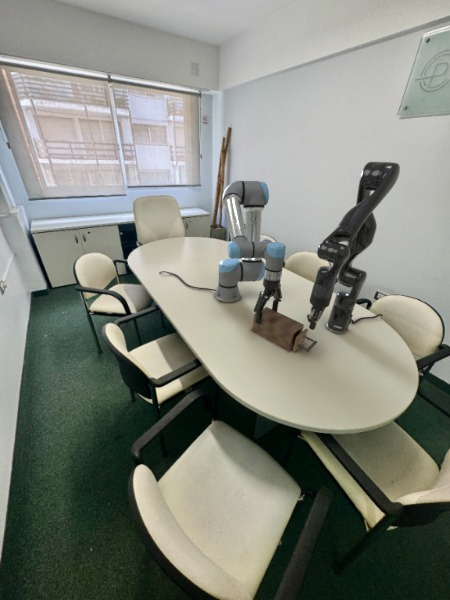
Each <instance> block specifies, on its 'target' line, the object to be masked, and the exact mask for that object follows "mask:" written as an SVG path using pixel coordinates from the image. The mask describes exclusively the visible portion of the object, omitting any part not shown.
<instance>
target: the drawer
mask: <svg viewBox="0 0 450 600" xmlns="http://www.w3.org/2000/svg"><path fill="white" fill-rule="evenodd" d="M301 331H302V328H301V329H300V330H299V331H298V332H296V333H295V334H294V335H293V339H292V343H291V347H292V346H293V345H294V347H293V348H292V352H294V353H296V352H297V351H298V350H299V349H300V348H301V349H302V350H304V351H305V352H306V353H309V352H310V351H311V350H312V349H313V348H314V346H316V344H318V341H317V340H314V339H312V338H310V337H309V336H308V332H309V328H307V327H306V328H303V331H302V332H301ZM306 339H307V340H308V341H311V342H312V343H311V344H310V345H309V346H308V347H307V348H306V347H304V346H303V345H304V344H305V343H306Z"/></svg>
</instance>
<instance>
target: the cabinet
mask: <svg viewBox="0 0 450 600" xmlns="http://www.w3.org/2000/svg"><path fill="white" fill-rule="evenodd" d="M262 312H263V313H262V320H261V324H258V323H256V322H255V321H256V313H255V314H253V319H252V320H253V321H252V328H251V331H252V332H254V333H256V334H258V335H259V336H261V337H263V338H264V339H266V340H268V341H270V342H271V343H273V344H275V345H277V346H279V347H280V348H282V349H284V350H286V351H288V352H290V351H291V350H293V348H294V345H293V346H292V347H291V343H292V339H293V335H294V334H295V333H296V332H298V331H299V330H300V329H301V328H302V331H303V330H304V327H305V324H304V323H302V322H299V321H297V320H295V319H293V318H292V317H289V316H288V315H285V314H282V313H281V312H278V311H277V312H276V311H274V310H272V308H271V307H268V306H264V308H263V310H262ZM302 331H301V332H302Z"/></svg>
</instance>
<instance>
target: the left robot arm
mask: <svg viewBox="0 0 450 600" xmlns="http://www.w3.org/2000/svg"><path fill="white" fill-rule="evenodd" d="M221 200H222V207H223V208H224V209H225V214H226V219H227V225H228V226H227V227H228V230H229V236H230V241H229V242H228V243H227V255H228V258H225V259H223V260H221V261H220V262H219V264H218V269H217V270H218V282H217V283H218V285H217V288H216V289H214V288H209V287H199V286H193V285H190V284H188V283H187V282H185V281H184V280H183V279H182V277H181V276H179V275H177V273H173V272H169V271H165V270H162V271H159V272H158V274H161V273H166V274H170V275H173V276H175V277H177V278H178V279H179V280H180V281H181V282H182V283H183V284H184V285H185V286H188V287H189V288H193V289H198V290H209V291H215V293H214V297H215V299H216V300H217V301H218V302H222V303H225V304H229V303H230V304H231V303H235V302H238V301H239V300H240V298H241V291H240V289H239V283H243V282H244V283H245V282H259V281H260V282H261V281H262V286H263V288H264V289H263V291H262V290H260V291H259V295H258V297H257V300H256V302H255V306H254V307H253V308H254V309H253V312H254V313H255V314H256V321H255V322H256V323H258V324H261V320H262V313H263V312H262V310H263V309H264V308H265V307H266V304H267V303H268V301H270V299H271V298H273V300H272V305H271V309H272V310H274V311H276V312H278V309H279V304H280V303H281V302H282V299H283V294H282V293H283V292H282V284H281V281H282V280H281V279H282V276H283V274H282V273H283V267H284V262H285V256H286V250H287V249H286V248H287V247H286V244H285V243H282V242H278V241H272V240H270V239H269V238H263V239H261V233H262V231H261V230H262V228H261V227H262V212H263V211H264V210H265V206H267V205H268V204H269V200H270V192H269V187H268V184H267V183H266V182H265V181H261V180H235V181H233V182H231V183H230V184H229V185H227V187H225V189H224V191H223V194H222V198H221ZM241 206H242V208H241ZM242 210H244V212H245V220H244V217H243V211H242ZM244 221H245V222H244ZM263 259H264V260H265V261H263ZM240 260H241V261H240ZM262 279H263V280H262Z"/></svg>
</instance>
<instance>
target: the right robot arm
mask: <svg viewBox="0 0 450 600" xmlns="http://www.w3.org/2000/svg"><path fill="white" fill-rule="evenodd" d="M400 172H401V166H400V164H399V163H398V162H391V161H369V162H367V163H366V164H365V165H364V166H363V168H362V170H361V173H360V176H359V182H358V186H357V187H358V188H357V195H356V202H355V205H354V206H353V207H352V208H350V209H349V210H348V211H347V212H346V213H345V214H344V215H343V217H342V219H340V221H339V223H338V225H337V226H336V228H334V230H333V231H332V232H331V233H330V234H328V236H327V237H325V238H324V239H323V240H321V242H320V244H319V245H318V247H317V250H316V255H317V257H318V259H320V260H322V261H325V262H328V263H331V264H332V265H331V266H330V265H322V266H320V267H318V269H317V273H316V275H315V280H314V283H313V285H312V289H311V293H310V297H309V304H311V306H310V307H311V308H310V313H308V314H307V315H306V319H307V322H309V326H308V330H312V331H314V330H316V328H317V324H318V322H319V320H320V319H322V316H323V314H324V312H325V311H326V309H327V308H328V307H329V306H330V304H331V301H332V298H333V294H334V291H335V285H336V282H337V283H338V284H339V285H341V286H343V287H347V288H349V290H348V289H341V290H338V291H337V292H336V294H335V297H334V300H333V304H332V307H331V309H330V313H329V316H328V318H327V319H328V320H327V322H326V325H325V326H326V328H327V329H328V330H329V331H331V332H332V333H334V334H335V333H336V334H344V333H346V331H348V329H349V326H350V325H351V324H356V323H357V322H359V321H360V320H366V319H367V320H368V319H376V318H378V317H383V314H382V313H379V314H376V315H374V316H373V315H372V316H363V317H359V318H358V319H356V320H355V321H354V319H353V311H354V310H355V307H356V303H357V301H358V299H359V298H360V294H361V291H362V289H363V287H364V285H365V282H366V280H367V276H368V274H367V273H368V272H367V271H365V270H362V269H360V268H357V267H354V266H353V262H354V260H355V259H356V258H358V256H360V255H361V254H362V253H363V252H365V251H366V250H367V249H368V248H370V247H371V245H372V244H373V242H374V239H375V235H376V232H377V227H378V224H377V220H376V217H375V214H374V211H375V209H376V208H377V207H378V206H379V205H380V204H381V203H382V201H383V200H384V199H385V198H386V197H387V196H388V194H389V193H390V192H391V191H392V189H393V188H394V187H395V184H396V183H397V181H398V179H399V176H400ZM371 192H372V193H371ZM343 242H345V243H346V244H344V243H343Z"/></svg>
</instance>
